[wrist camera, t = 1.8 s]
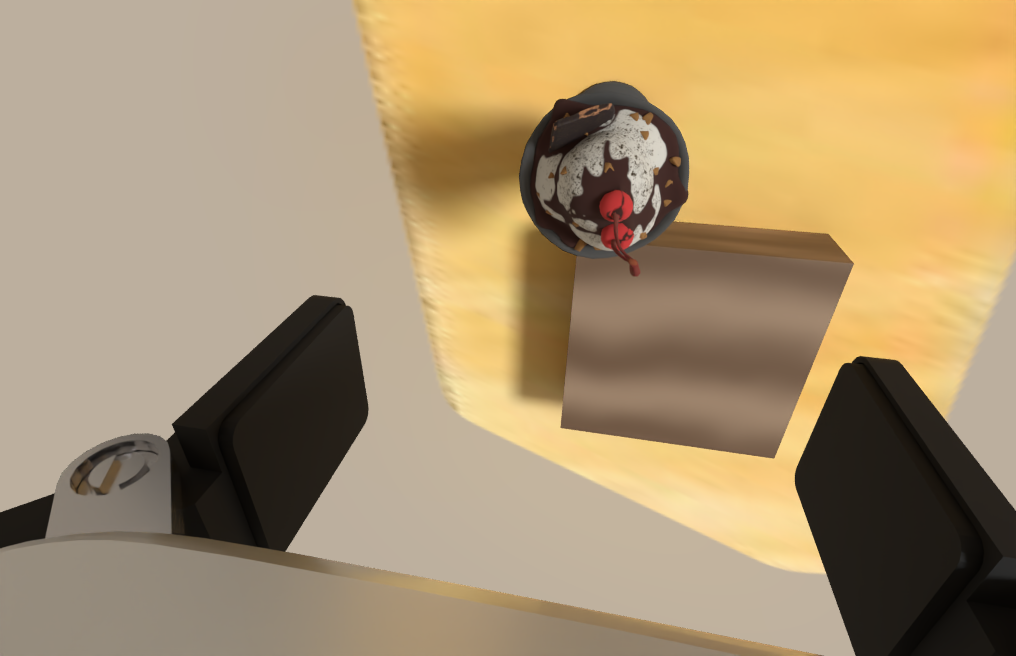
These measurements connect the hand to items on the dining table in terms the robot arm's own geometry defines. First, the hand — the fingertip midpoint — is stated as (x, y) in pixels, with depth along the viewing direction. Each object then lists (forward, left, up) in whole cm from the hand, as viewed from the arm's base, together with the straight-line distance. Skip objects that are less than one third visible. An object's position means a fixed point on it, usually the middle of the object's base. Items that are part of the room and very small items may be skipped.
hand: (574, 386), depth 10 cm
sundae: (0, 0, -23) cm, 23 cm away
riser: (+12, +6, -23) cm, 26 cm away
